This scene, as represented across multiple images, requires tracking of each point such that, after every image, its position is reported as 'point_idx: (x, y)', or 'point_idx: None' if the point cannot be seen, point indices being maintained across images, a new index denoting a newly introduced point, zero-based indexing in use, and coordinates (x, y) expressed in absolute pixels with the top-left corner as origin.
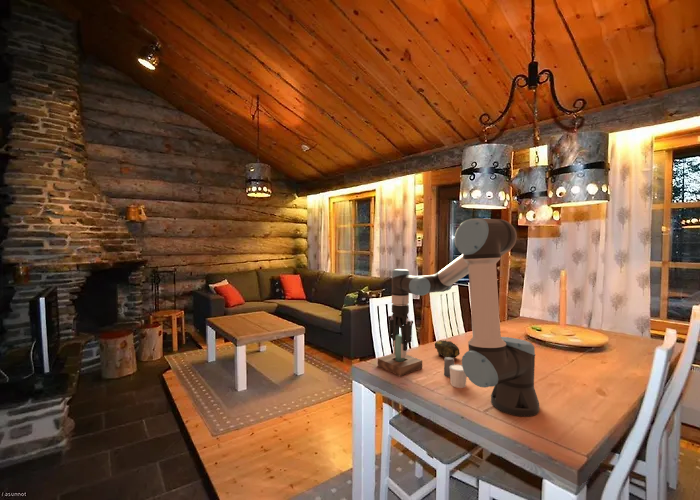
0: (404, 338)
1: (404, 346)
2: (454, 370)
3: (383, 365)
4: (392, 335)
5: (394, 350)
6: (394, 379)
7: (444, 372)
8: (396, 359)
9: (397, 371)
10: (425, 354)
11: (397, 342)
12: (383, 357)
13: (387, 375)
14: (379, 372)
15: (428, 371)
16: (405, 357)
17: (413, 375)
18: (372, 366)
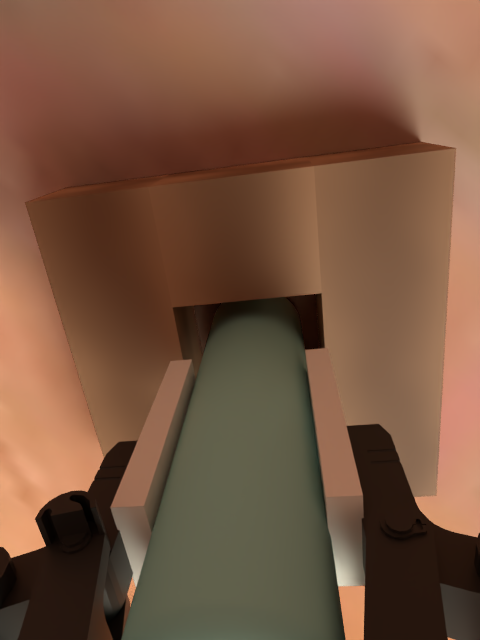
0: (27, 636)
1: (106, 491)
2: None
3: (323, 158)
4: (441, 600)
5: (314, 384)
6: (11, 72)
7: None
8: (252, 323)
9: (92, 188)
10: (356, 636)
11: (210, 481)
12: (427, 243)
13: (135, 70)
14: (253, 35)
15: (64, 452)
16: None
17: (35, 305)
18: (455, 74)
